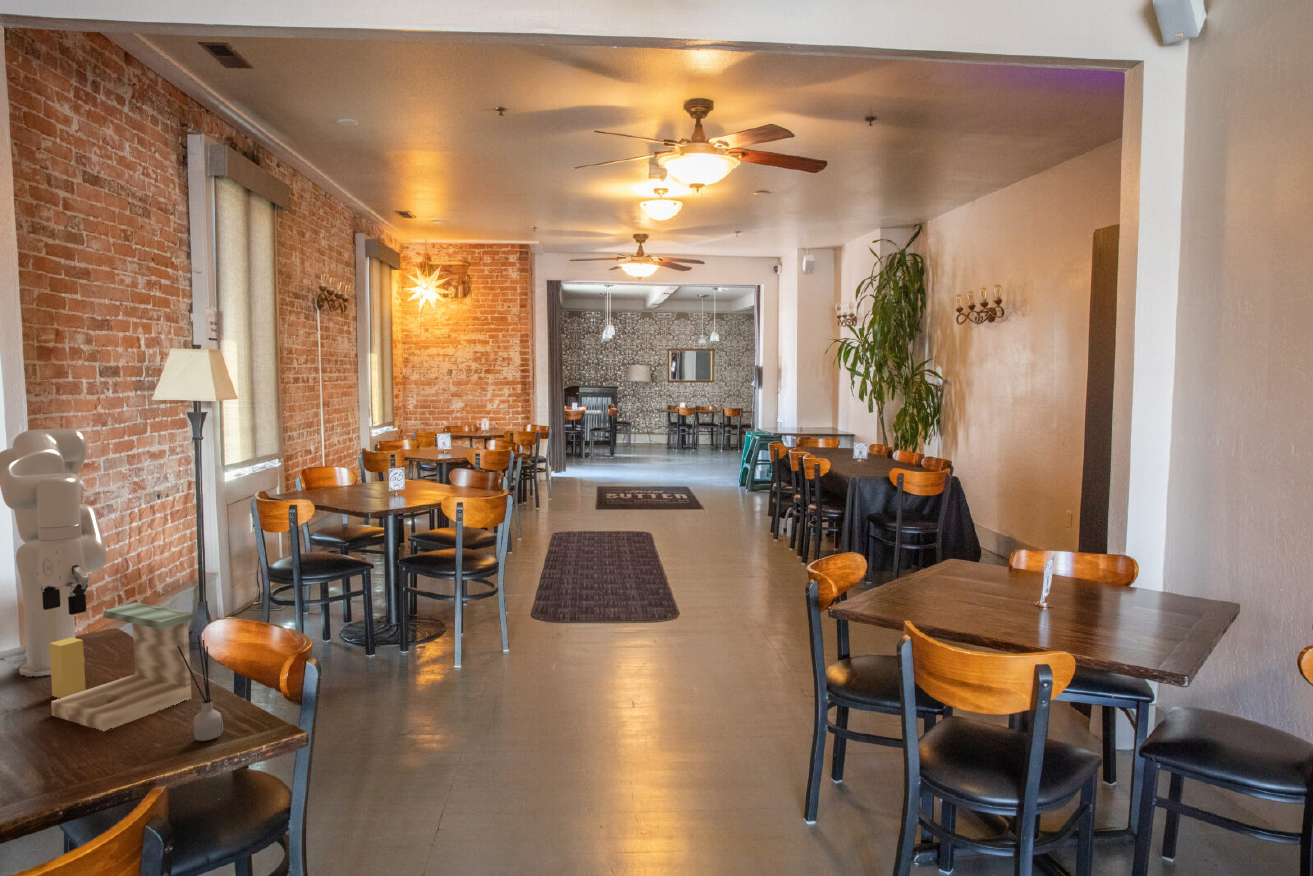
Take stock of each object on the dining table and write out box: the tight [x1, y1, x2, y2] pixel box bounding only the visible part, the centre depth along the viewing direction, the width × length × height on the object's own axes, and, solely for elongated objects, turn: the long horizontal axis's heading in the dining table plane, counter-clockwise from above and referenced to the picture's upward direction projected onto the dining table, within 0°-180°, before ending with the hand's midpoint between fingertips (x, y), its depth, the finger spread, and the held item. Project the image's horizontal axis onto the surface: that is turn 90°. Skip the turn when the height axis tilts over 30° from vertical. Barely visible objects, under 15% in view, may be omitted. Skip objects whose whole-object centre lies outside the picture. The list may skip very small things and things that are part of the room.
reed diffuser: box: [177, 634, 224, 742], centre depth 153 cm, size 10×7×20 cm
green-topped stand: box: [50, 602, 194, 732], centre depth 169 cm, size 20×18×19 cm
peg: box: [49, 637, 87, 699], centre depth 175 cm, size 4×4×12 cm
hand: (64, 610), depth 174 cm, fingers open, 9 cm apart
